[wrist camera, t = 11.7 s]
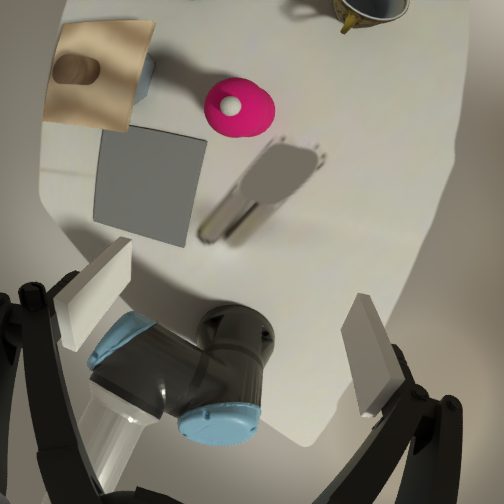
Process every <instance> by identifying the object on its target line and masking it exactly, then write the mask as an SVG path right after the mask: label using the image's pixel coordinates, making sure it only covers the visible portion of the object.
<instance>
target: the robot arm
mask: <svg viewBox="0 0 504 504" xmlns="http://www.w3.org/2000/svg"><path fill="white" fill-rule="evenodd" d="M131 254H132V239H129V238H125V237H119V238H118V239H117V240H116V241H115V242H114V243H112V244H111V245H110V246H109V247H108V248H107V249H105V250H104V251H103V252H102V253H101V254H100V255H99V256H98V257H96V258H95V259H94V260H93V261H92V262H91V263H90V264H89V265H88V266H87V267H86V268H85V269H84V270H82V271H81V272H79V271H76V270H75V271H73V272H70V273H68V274H66V275H65V276H64V277H63V278H62V279H61V281H59V282H58V283H57V284H56V285H54V286H53V287H52V288H51V289H50V290H49V291H48V292H47V293H46V290H45V287H44V285H43V284H41V283H38V282H30V283H26V284H24V285H22V286H21V287H20V288H19V291H18V294H19V299H20V303H21V305H20V304H13V303H11V301H10V298H9V296H8V295H7V294H6V293H0V504H10V502H9V501H8V499H7V498H6V489H7V453H8V433H9V421H10V412H11V403H12V395H13V388H14V383H15V377H16V371H17V366H18V361H19V356H20V352H21V348H23V357H24V370H25V378H26V387H27V393H28V400H29V407H30V412H31V418H32V422H33V428H34V432H35V437H36V441H37V445H38V452H37V461H38V465H39V468H40V472H41V475H42V478H43V482H44V484H45V487H46V494H45V496H44V499H43V501H42V504H183V503H181V502H179V501H177V500H175V499H173V498H171V497H169V496H167V495H164V494H160V493H157V492H154V491H150V490H147V489H144V488H141V487H138V486H137V487H136V491H116V492H113V491H114V489H115V487H116V485H117V483H118V481H119V478H120V476H121V474H122V472H123V470H124V468H125V466H126V464H127V462H128V460H129V457H130V455H131V453H132V451H133V449H134V447H135V445H136V443H137V441H138V439H139V437H140V435H141V433H142V430H143V428H144V427H145V426H147V425H149V424H153V423H156V422H159V420H160V418H161V416H162V414H163V412H166V413H168V414H170V415H172V416H174V417H176V418H178V422H177V424H178V429H179V431H180V432H181V433H183V435H184V436H185V437H186V438H188V439H190V440H192V441H194V442H197V443H201V444H205V445H212V446H228V445H235V444H239V443H242V442H244V441H246V440H248V439H250V438H251V437H252V436H253V435H254V434H255V433H256V431H257V428H258V423H259V418H260V415H261V395H262V380H263V369H264V367H265V365H266V363H267V362H268V360H269V358H270V356H271V354H272V352H273V349H274V340H275V335H274V330H273V328H272V326H271V324H270V323H269V321H268V320H267V319H266V318H265V317H264V316H263V315H261V314H260V313H258V312H257V311H255V310H252V309H250V308H247V307H243V306H236V305H228V306H221V307H218V308H215V309H213V310H211V311H209V312H208V313H207V314H206V315H205V316H204V317H203V318H202V319H201V321H200V324H199V326H198V329H197V333H196V342H197V346H195V345H193V344H191V343H190V342H188V341H186V340H184V339H183V338H181V337H179V336H178V335H176V334H174V333H173V332H171V331H169V330H168V329H166V328H164V327H163V326H161V325H160V324H158V322H157V321H153V320H151V319H149V318H148V317H146V316H144V315H142V314H141V313H139V312H136V311H130V312H127V313H126V314H124V315H123V316H122V317H121V318H119V320H118V321H117V322H116V323H115V324H114V325H113V326H112V327H111V328H110V329H109V331H108V332H107V333H106V334H105V335H104V337H103V338H102V339H101V341H100V342H99V343H98V345H97V347H96V348H95V350H94V351H93V353H92V354H91V355H90V357H89V359H88V361H87V366H88V367H89V369H90V370H91V371H93V373H92V375H91V377H90V379H89V381H88V383H89V386H90V390H91V393H92V397H91V399H90V401H89V403H88V405H87V407H86V409H85V411H84V413H83V415H82V417H81V419H80V421H79V423H78V425H77V423H76V420H75V417H74V413H73V410H72V406H71V403H70V399H69V396H68V392H67V387H66V383H65V379H64V375H63V371H62V366H61V361H60V356H59V352H58V346H57V342H58V341H59V339H60V338H61V339H62V344H63V347H66V348H68V349H70V350H73V351H75V352H77V351H78V349H79V348H80V346H81V345H82V344H83V342H84V341H85V339H86V338H87V337H88V335H89V334H90V333H91V331H92V330H93V329H94V327H95V326H96V324H97V323H98V322H99V321H100V319H101V318H102V317H103V315H104V314H105V313H106V311H107V310H108V309H109V307H110V306H111V304H112V303H113V302H114V301H115V300H116V298H117V297H118V296H119V295H120V293H121V292H122V291H123V289H124V288H125V287H126V286H127V284H128V283H129V282H130V281H131ZM341 333H342V337H343V341H344V345H345V349H346V353H347V357H348V361H349V365H350V370H351V374H352V378H353V383H354V387H355V392H356V396H357V401H358V406H359V410H360V415H361V417H375V416H376V415H377V414H378V413H379V412H380V410H381V411H382V414H383V417H382V418H381V419H380V420H379V421H378V422H377V424H376V425H375V426H374V427H373V428H372V431H371V433H370V434H369V436H368V437H367V439H366V440H365V441H364V443H363V444H362V445H361V447H360V448H359V449H358V450H357V452H356V453H355V454H354V456H353V457H352V458H351V459H350V461H349V462H348V463H347V464H346V466H345V467H344V468H343V469H342V471H341V472H340V473H339V474H338V475H337V476H336V478H335V479H334V480H333V481H332V482H331V483H330V484H329V486H328V487H327V488H326V489H325V490H324V491H323V492H322V494H320V495H319V497H318V498H317V499H316V500H315V501H314V502H313V503H312V504H372V503H373V502H374V500H375V499H376V497H377V496H378V494H379V493H380V492H381V490H382V488H383V487H384V485H385V484H386V482H387V481H388V479H389V477H390V476H391V474H392V472H393V471H394V469H395V467H396V466H397V464H398V462H399V460H400V459H401V457H402V455H403V453H404V451H405V450H406V448H407V446H408V444H409V442H410V440H411V442H410V447H409V451H408V456H407V460H406V465H405V469H404V473H403V476H402V480H401V484H400V487H399V491H398V494H397V498H396V501H395V504H456V503H457V496H458V489H459V480H460V470H461V458H462V437H463V436H462V435H463V409H462V404H461V403H460V401H459V400H458V399H457V398H456V397H454V396H452V395H445V396H444V397H443V398H442V399H441V400H440V401H438V400H435V399H432V398H429V394H428V392H427V391H426V390H425V389H424V388H423V387H422V386H420V385H418V384H415V381H414V379H413V376H412V374H411V371H410V369H409V367H408V366H407V362H406V360H405V357H404V355H403V353H402V351H401V350H400V349H399V347H398V346H397V345H396V344H391V343H390V340H389V338H388V336H387V333H386V331H385V329H384V326H383V324H382V322H381V320H380V317H379V315H378V313H377V311H376V308H375V306H374V304H373V302H372V300H371V298H370V295H366V294H361V293H358V294H357V296H356V298H355V300H354V303H353V305H352V307H351V309H350V311H349V313H348V315H347V318H346V320H345V322H344V324H343V326H342V328H341Z"/></svg>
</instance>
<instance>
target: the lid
mask: <svg viewBox="0 0 504 504" xmlns="http://www.w3.org/2000/svg"><path fill="white" fill-rule="evenodd" d="M155 25H156V22H154V21H147V20H113V21H93V22H81V23H71V24H64V25H63V29H62V32H61V35H60V38H59V42H58V45H57V49H56V53H55V57H54V61H53V65H52V69H51V73H50V78H49V83H48V88H47V93H46V99H45V105H44V111H43V118H42V121H46V122H55V123H63V124H71V125H79V126H86V127H92V128H99V129H105V130H111V131H117V132H123V133H124V132H128V128H129V123H130V118H131V113H132V109H133V104H134V100H135V95H136V91H137V87H138V83H139V79H140V75H141V71H142V68H143V64H144V60H145V57H146V54H147V50H148V47H149V44H150V40H151V37H152V34H153V31H154V28H155Z"/></svg>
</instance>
